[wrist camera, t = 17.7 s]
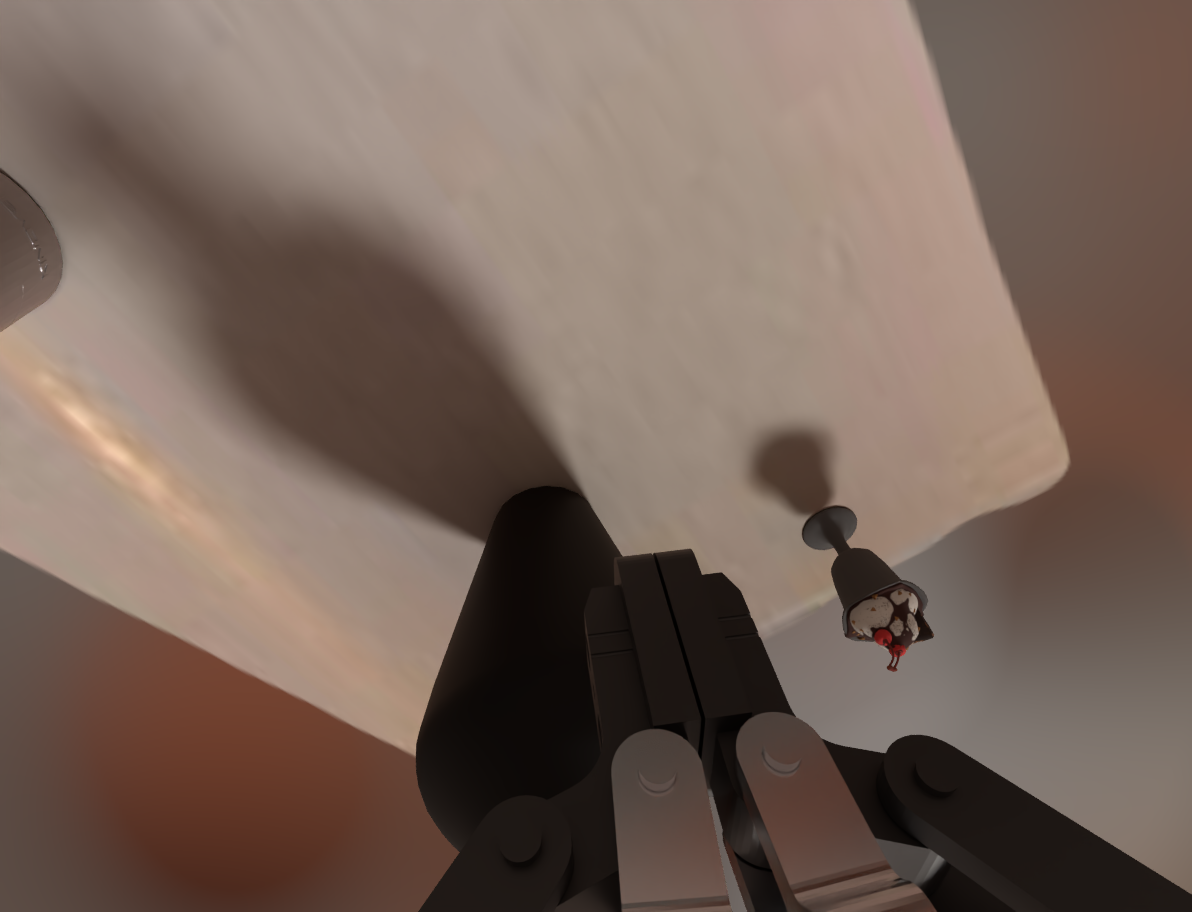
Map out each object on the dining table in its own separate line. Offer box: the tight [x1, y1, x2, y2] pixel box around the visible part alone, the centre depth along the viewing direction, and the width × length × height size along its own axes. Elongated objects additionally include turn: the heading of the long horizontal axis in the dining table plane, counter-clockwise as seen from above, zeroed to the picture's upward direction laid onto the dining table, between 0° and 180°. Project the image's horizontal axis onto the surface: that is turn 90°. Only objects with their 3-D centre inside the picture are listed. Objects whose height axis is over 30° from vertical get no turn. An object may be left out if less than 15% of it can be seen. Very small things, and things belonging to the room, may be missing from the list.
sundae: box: [803, 507, 934, 672], centre depth 52 cm, size 7×7×15 cm
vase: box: [416, 486, 623, 852], centre depth 39 cm, size 17×17×35 cm
